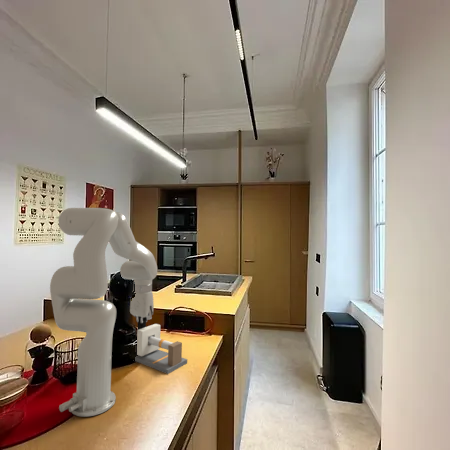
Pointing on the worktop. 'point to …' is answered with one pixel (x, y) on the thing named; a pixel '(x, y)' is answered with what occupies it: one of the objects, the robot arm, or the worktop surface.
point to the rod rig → (163, 356)
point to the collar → (142, 339)
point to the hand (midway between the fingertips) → (141, 331)
